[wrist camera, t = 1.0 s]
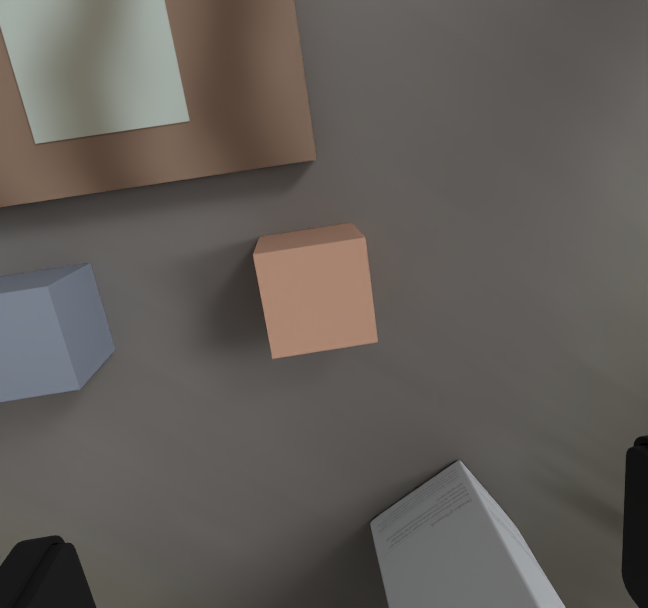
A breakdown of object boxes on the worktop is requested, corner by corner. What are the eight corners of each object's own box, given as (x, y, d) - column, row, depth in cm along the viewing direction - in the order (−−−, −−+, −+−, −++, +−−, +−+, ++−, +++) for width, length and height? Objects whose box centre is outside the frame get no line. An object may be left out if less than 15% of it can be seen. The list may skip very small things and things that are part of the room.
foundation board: (274, -121, 22) (273, -148, 20) (314, 159, 26) (317, 159, 24) (-137, -65, 22) (-180, -87, 20) (-39, 212, 25) (-67, 217, 23)
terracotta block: (352, 222, 27) (365, 237, 22) (362, 310, 28) (377, 342, 24) (259, 236, 27) (252, 254, 22) (275, 323, 28) (272, 358, 23)
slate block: (90, 262, 27) (47, 286, 22) (115, 349, 28) (80, 389, 23) (-4, 277, 26) (-69, 304, 22) (26, 363, 28) (-29, 406, 23)
